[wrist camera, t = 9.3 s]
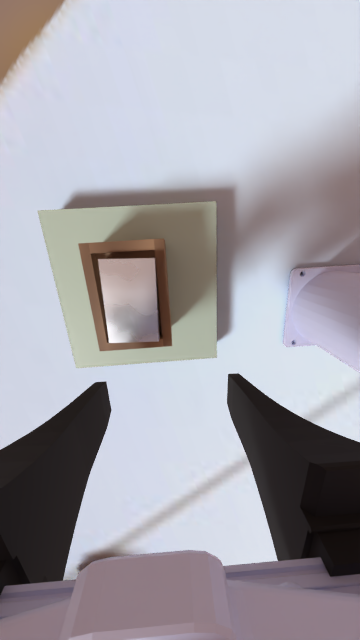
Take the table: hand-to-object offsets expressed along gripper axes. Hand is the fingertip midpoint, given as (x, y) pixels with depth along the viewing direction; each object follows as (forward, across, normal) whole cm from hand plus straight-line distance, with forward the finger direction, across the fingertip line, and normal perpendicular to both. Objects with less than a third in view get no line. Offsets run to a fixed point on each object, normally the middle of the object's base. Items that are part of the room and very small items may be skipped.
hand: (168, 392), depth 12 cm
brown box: (+7, +2, -5) cm, 9 cm away
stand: (+9, +2, -5) cm, 11 cm away
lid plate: (+4, +2, -5) cm, 7 cm away
